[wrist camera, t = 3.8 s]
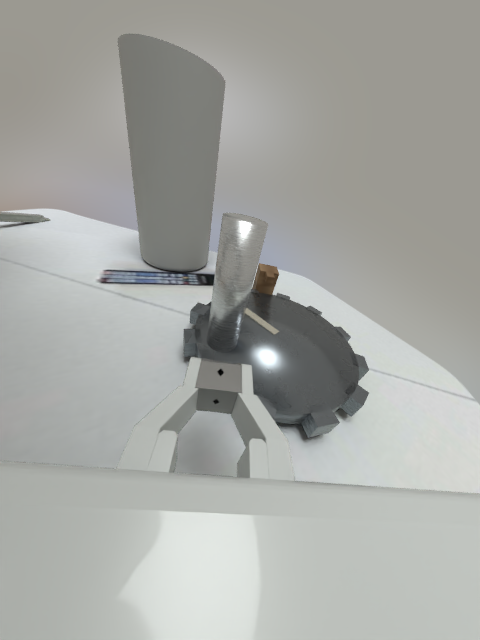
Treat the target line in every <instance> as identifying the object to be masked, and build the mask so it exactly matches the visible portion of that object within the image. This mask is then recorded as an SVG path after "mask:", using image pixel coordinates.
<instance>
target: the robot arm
mask: <svg viewBox="0 0 480 640" xmlns="http://www.w3.org/2000/svg"><path fill="white" fill-rule="evenodd" d="M196 410H197V411H210V412H219V413H227V414H231V416H232V418H233V420H234V422H235V425H236V427H237V429H238V431H239V433H240V435H241V438H242V440H243V442H244V444H245V446H246V449H245V450H244V452H243V454H242V456H241V458H240V459H239V461H238V463H237V477H231V476H216V475H201V474H187V473H174V471H175V467H176V462H177V434H178V433H179V432H180V431H181V429H182V428H183V427H184V426H185V424H186V423H187V422H188V421H189V420H190V418H191V417H192V416H193V415H194V413H195V412H196ZM0 640H480V494H479V493H464V492H450V491H435V490H420V489H406V488H391V487H377V486H362V485H347V484H333V483H318V482H304V481H295V477H294V471H293V466H292V460H291V454H290V449H289V443H288V440H287V439H286V437H285V436H284V434H283V433H282V431H281V430H280V428H279V427H278V425H277V424H276V423H275V421H274V420H273V418H272V417H271V415H270V414H269V412H268V411H267V410H266V408H265V407H264V405H263V404H262V402H261V401H260V399H259V398H258V396H257V395H254V393H253V376H252V366H251V365H247V364H241V363H233V362H225V361H216V360H209V359H203V358H196V357H191V358H190V361H189V365H188V368H187V372H186V375H185V379H184V382H183V386H179V387H177V388H176V389H175V390H174V391H173V392H172V393H171V394H170V395H169V396H167V397H166V398H165V399H164V400H163V401H162V402H161V403H160V404H158V405H157V406H156V407H155V408H154V409H153V410H152V411H151V412H150V413H148V414H147V415H146V416H145V417H144V418H143V419H142V420H141V421H140V422H138V423H137V424H136V425H135V426H134V428H133V430H132V433H131V435H130V437H129V440H128V442H127V444H126V447H125V449H124V451H123V453H122V456H121V458H120V460H119V463H118V465H117V467H116V469H114V468H99V467H85V466H70V465H55V464H41V463H26V462H12V461H0Z"/></svg>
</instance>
